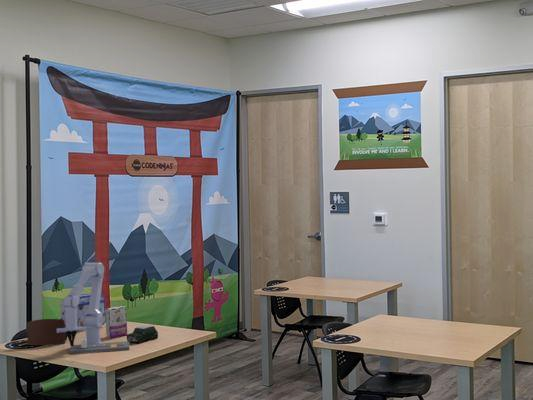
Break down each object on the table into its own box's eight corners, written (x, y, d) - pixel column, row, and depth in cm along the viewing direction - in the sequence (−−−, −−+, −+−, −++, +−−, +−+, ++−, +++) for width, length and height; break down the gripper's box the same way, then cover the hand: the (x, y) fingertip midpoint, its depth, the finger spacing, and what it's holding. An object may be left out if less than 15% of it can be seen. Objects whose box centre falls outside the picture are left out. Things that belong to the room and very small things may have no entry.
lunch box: (66, 334, 414) (65, 296, 414) (58, 331, 422) (56, 294, 422) (108, 326, 433) (106, 290, 432) (99, 324, 440) (98, 289, 440)
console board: (71, 348, 375) (71, 345, 375) (129, 344, 381) (129, 341, 381) (69, 354, 362) (69, 350, 362) (129, 349, 367) (129, 346, 367)
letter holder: (65, 343, 388) (64, 318, 387) (27, 346, 384) (26, 320, 384) (67, 340, 397) (66, 315, 397) (30, 342, 394) (29, 317, 394)
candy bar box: (123, 334, 409) (122, 305, 409) (127, 335, 405) (126, 306, 405) (105, 337, 402) (104, 308, 401) (110, 338, 398) (109, 309, 398)
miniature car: (125, 343, 385) (124, 328, 385) (148, 336, 400) (147, 322, 400) (136, 344, 380) (136, 329, 380) (160, 338, 395) (159, 324, 395)
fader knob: (81, 346, 370) (81, 338, 370) (86, 346, 370) (86, 338, 370) (81, 348, 366) (81, 340, 365) (86, 347, 366) (85, 339, 366)
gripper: (55, 321, 361) (56, 348, 361) (85, 319, 364) (86, 346, 364) (57, 319, 368) (57, 345, 368) (85, 317, 371) (86, 343, 371)
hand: (71, 345), depth 367 cm, fingers closed
